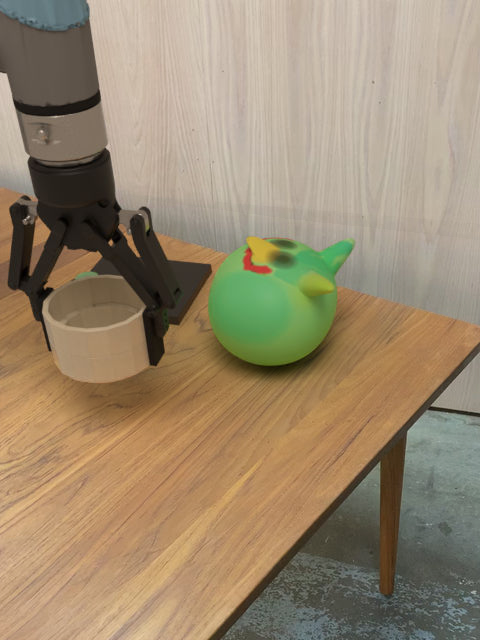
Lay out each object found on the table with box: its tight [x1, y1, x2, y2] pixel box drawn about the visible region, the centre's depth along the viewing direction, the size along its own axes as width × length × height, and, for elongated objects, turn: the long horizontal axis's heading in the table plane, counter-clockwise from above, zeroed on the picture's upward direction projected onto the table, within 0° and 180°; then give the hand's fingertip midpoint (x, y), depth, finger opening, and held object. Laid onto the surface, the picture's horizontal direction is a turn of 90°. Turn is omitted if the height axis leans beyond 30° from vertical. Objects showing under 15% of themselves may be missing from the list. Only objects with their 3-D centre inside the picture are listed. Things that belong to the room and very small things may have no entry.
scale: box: [70, 256, 213, 326], centre depth 111 cm, size 17×15×3 cm
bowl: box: [42, 275, 150, 384], centre depth 84 cm, size 11×11×7 cm
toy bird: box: [207, 235, 356, 367], centre depth 96 cm, size 18×17×15 cm
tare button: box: [75, 271, 98, 280], centre depth 108 cm, size 3×3×2 cm
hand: (106, 352), depth 86 cm, fingers closed on bowl, 11 cm apart
